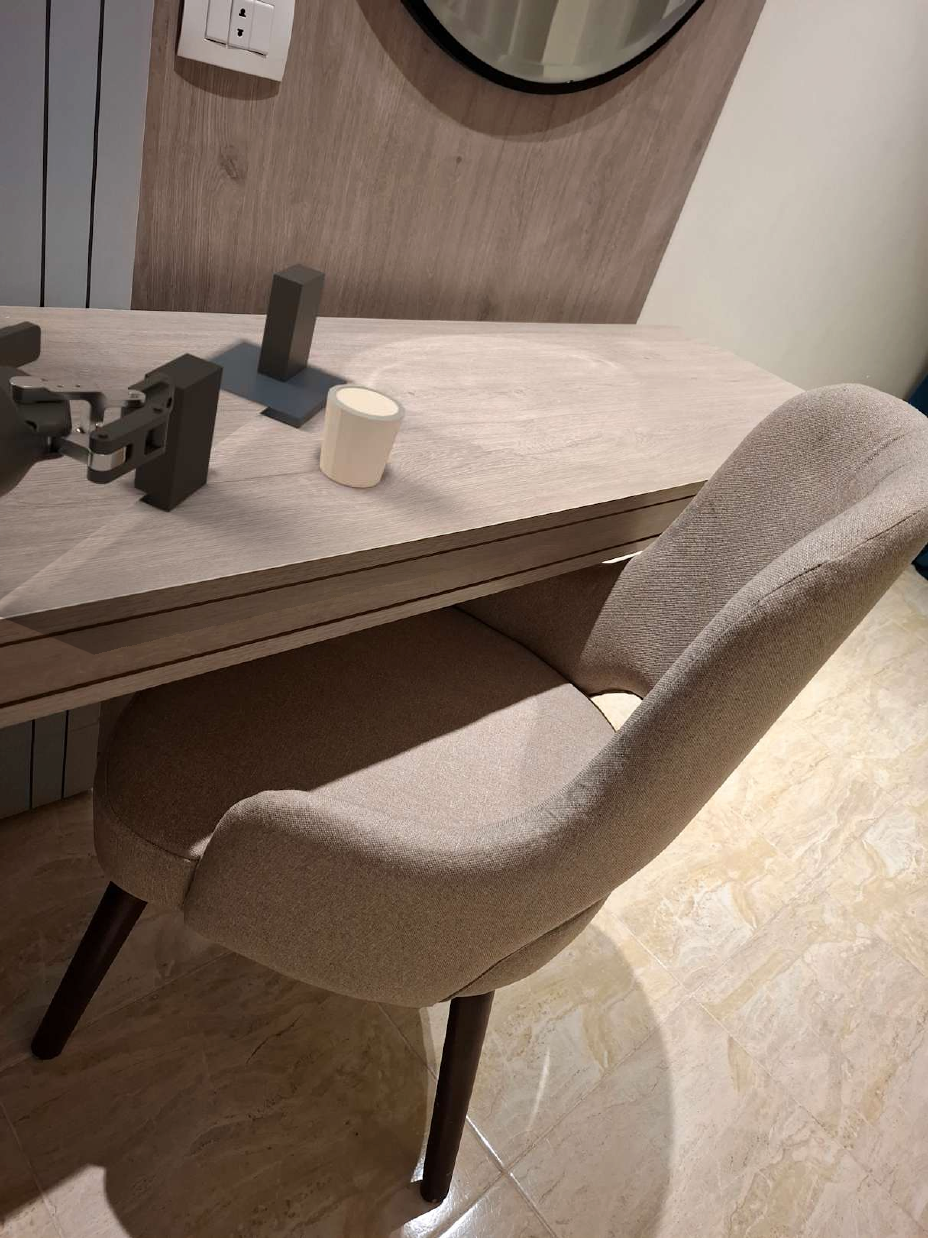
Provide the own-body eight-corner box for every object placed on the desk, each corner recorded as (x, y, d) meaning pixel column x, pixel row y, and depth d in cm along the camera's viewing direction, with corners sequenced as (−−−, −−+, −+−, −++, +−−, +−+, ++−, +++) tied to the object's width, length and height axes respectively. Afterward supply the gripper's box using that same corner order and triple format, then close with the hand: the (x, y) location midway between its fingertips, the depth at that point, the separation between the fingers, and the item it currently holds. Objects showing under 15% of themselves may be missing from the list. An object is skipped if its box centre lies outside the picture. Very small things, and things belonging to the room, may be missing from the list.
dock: (182, 383, 87) (197, 268, 80) (242, 349, 97) (259, 246, 91) (298, 428, 86) (321, 315, 80) (345, 389, 97) (368, 288, 91)
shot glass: (401, 480, 83) (421, 411, 80) (354, 498, 78) (373, 425, 74) (345, 446, 86) (362, 378, 82) (296, 462, 80) (311, 389, 77)
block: (132, 497, 68) (144, 373, 63) (172, 469, 73) (187, 352, 68) (168, 512, 68) (184, 389, 63) (206, 482, 73) (223, 366, 68)
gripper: (38, 436, 38) (218, 345, 51) (-265, 318, 38) (-9, 259, 52) (34, 582, 42) (201, 462, 55) (-240, 473, 43) (-8, 381, 56)
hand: (100, 364), depth 54 cm, fingers open, 8 cm apart
